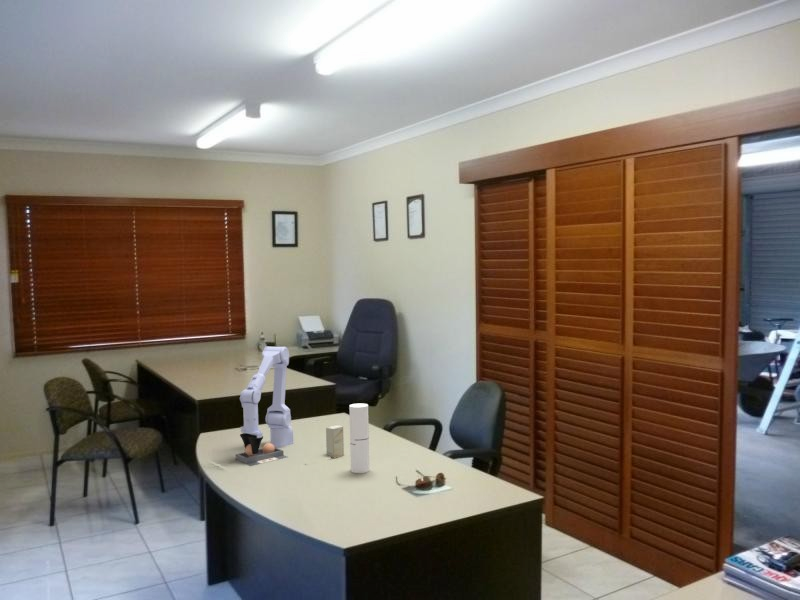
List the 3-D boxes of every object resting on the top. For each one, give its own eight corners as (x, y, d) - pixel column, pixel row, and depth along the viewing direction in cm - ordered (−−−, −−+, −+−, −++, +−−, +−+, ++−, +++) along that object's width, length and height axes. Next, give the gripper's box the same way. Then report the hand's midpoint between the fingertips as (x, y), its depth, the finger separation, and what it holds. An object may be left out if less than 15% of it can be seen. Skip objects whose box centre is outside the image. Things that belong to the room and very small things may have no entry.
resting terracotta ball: (271, 452, 266) (270, 440, 265) (277, 455, 262) (276, 443, 262) (260, 455, 262) (259, 443, 262) (266, 457, 259) (265, 445, 258)
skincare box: (334, 458, 259) (333, 429, 258) (326, 457, 262) (325, 427, 261) (344, 455, 264) (343, 425, 263) (336, 453, 267) (335, 424, 266)
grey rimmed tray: (272, 452, 269) (272, 445, 269) (288, 459, 259) (288, 452, 259) (235, 461, 258) (234, 454, 258) (250, 468, 248) (250, 461, 248)
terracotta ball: (254, 453, 261) (254, 441, 260) (260, 456, 257) (260, 443, 257) (243, 456, 257) (242, 443, 257) (249, 458, 254) (248, 446, 253)
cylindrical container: (366, 473, 239) (365, 407, 238) (348, 472, 241) (347, 407, 240) (371, 467, 246) (370, 403, 245) (353, 466, 248) (352, 403, 247)
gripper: (233, 417, 259) (234, 450, 260) (250, 423, 248) (251, 458, 249) (249, 414, 264) (250, 447, 265) (266, 420, 253) (267, 454, 254)
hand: (251, 452), depth 257 cm, fingers closed on terracotta ball, 5 cm apart
